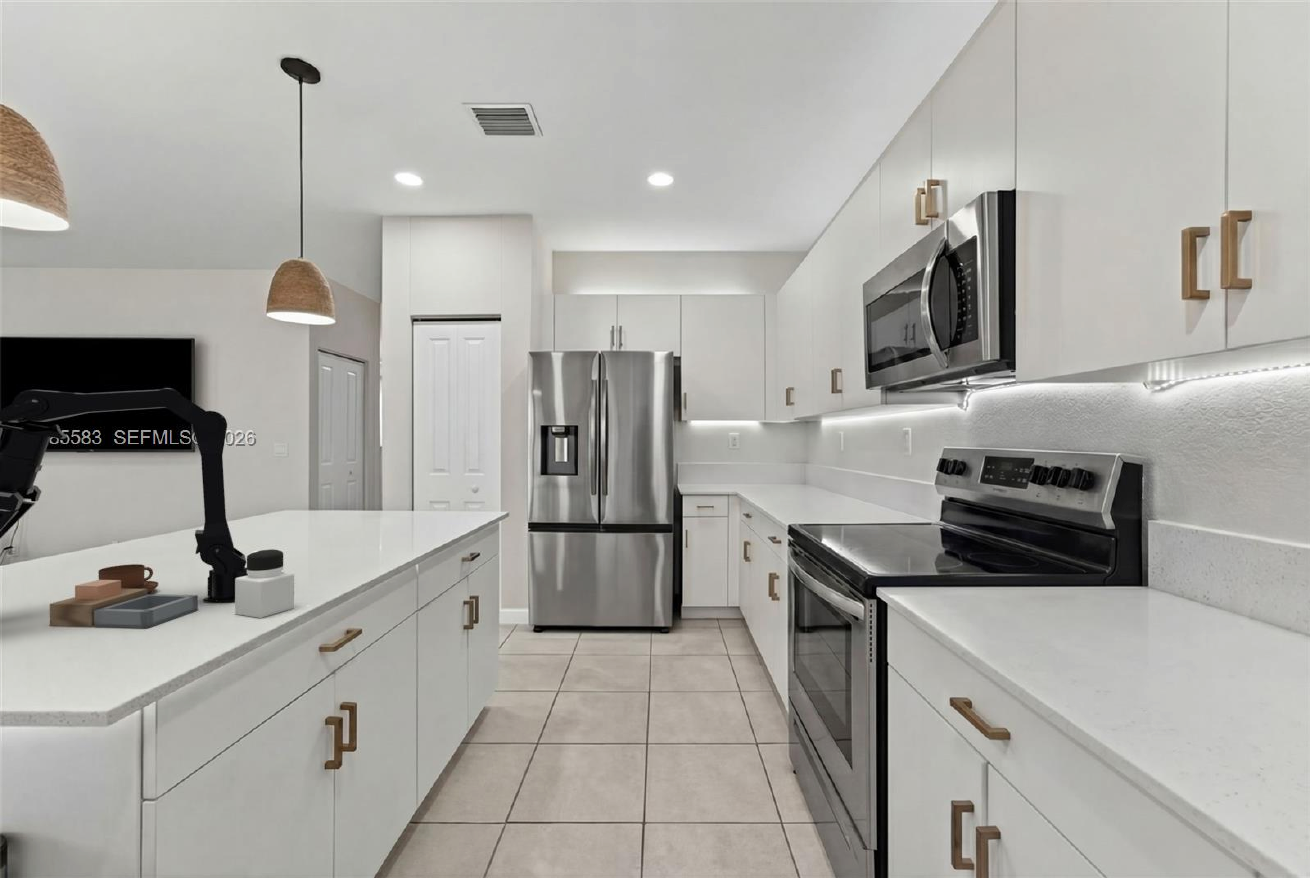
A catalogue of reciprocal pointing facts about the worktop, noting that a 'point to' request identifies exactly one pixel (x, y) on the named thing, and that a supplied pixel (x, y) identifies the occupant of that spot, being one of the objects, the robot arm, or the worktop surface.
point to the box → (145, 611)
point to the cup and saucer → (129, 576)
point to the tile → (98, 589)
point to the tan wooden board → (87, 608)
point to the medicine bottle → (264, 586)
